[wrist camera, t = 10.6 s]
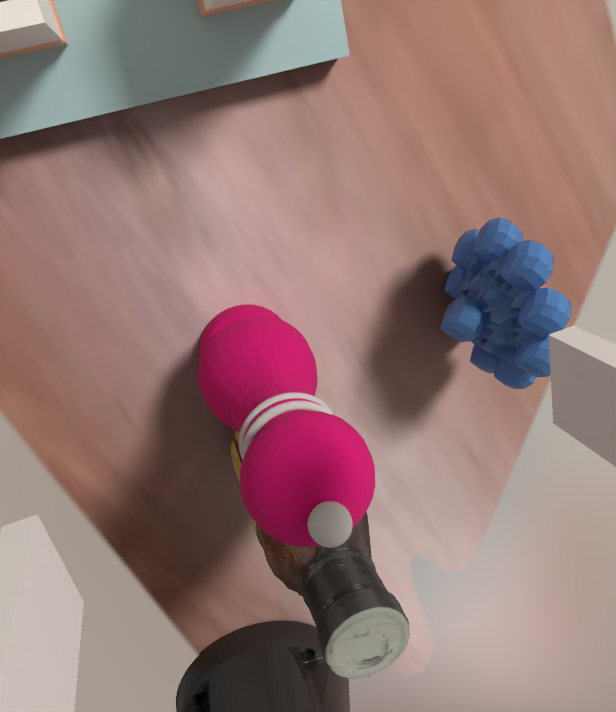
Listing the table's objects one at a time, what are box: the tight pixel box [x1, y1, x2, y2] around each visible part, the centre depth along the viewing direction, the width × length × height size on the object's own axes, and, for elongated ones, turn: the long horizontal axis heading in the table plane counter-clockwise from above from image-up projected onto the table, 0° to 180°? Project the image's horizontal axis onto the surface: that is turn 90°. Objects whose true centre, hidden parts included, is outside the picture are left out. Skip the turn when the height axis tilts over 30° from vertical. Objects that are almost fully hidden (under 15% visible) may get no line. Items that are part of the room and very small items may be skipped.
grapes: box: [440, 218, 571, 389], centre depth 37 cm, size 12×7×12 cm, turn 15°
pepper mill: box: [198, 305, 375, 548], centre depth 31 cm, size 7×7×20 cm
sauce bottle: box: [230, 429, 409, 679], centre depth 34 cm, size 7×6×20 cm
